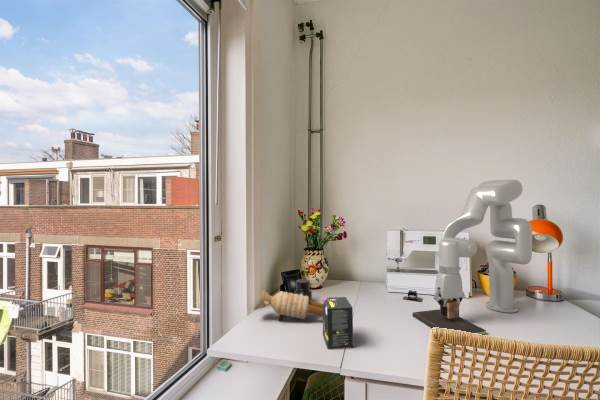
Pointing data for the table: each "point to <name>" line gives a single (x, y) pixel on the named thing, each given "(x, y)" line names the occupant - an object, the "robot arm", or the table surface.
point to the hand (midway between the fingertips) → (449, 314)
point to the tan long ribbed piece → (290, 305)
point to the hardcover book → (446, 321)
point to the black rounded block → (412, 297)
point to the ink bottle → (303, 288)
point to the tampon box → (337, 323)
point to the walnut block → (452, 309)
